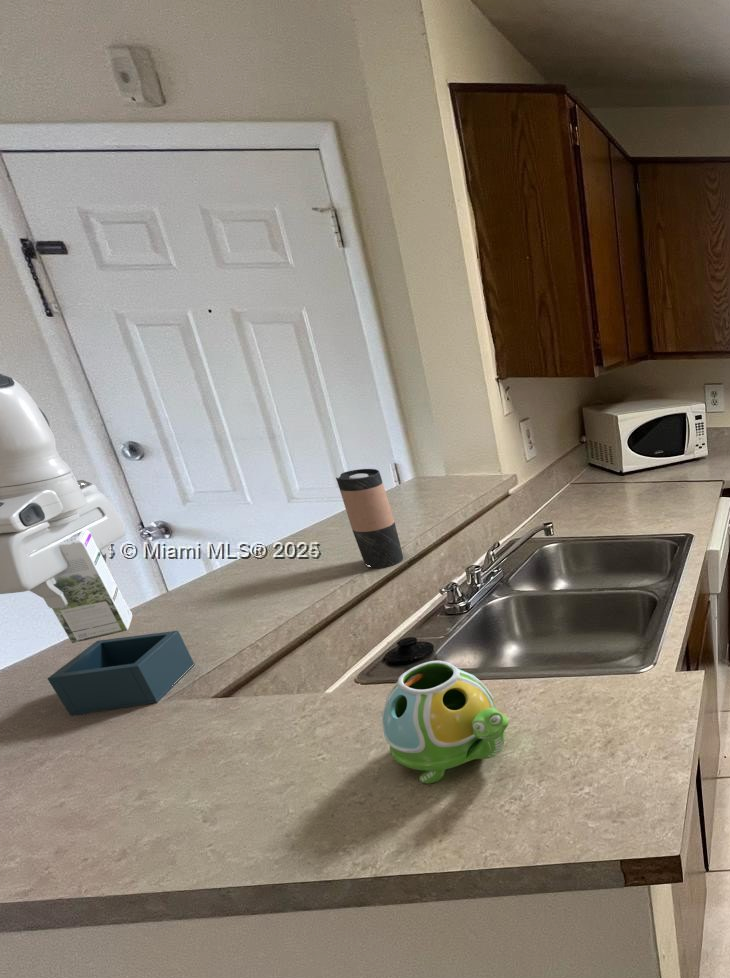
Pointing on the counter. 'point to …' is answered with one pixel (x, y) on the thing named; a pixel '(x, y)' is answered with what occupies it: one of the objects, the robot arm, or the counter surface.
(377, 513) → the travel mug
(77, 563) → the syrup box
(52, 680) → the box
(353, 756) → the counter surface
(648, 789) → the counter surface
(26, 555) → the robot arm
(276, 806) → the counter surface
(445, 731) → the turtle holder
